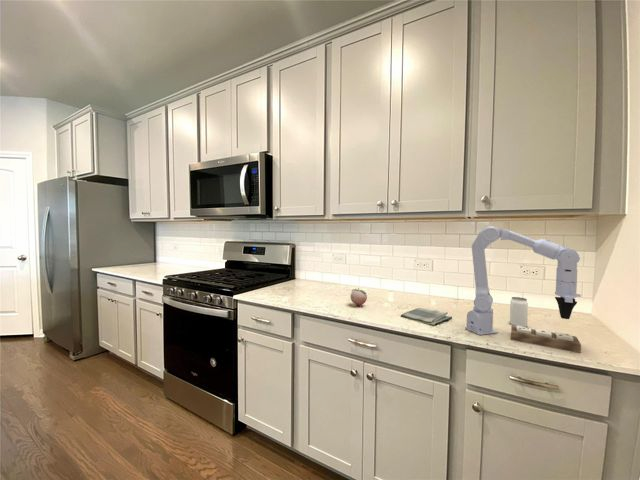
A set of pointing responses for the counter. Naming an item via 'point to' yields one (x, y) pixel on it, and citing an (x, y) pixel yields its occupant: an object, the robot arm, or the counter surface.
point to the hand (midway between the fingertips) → (564, 317)
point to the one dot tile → (543, 333)
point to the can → (518, 311)
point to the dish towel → (427, 316)
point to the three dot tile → (523, 329)
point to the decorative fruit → (358, 297)
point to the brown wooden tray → (546, 340)
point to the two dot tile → (563, 336)
